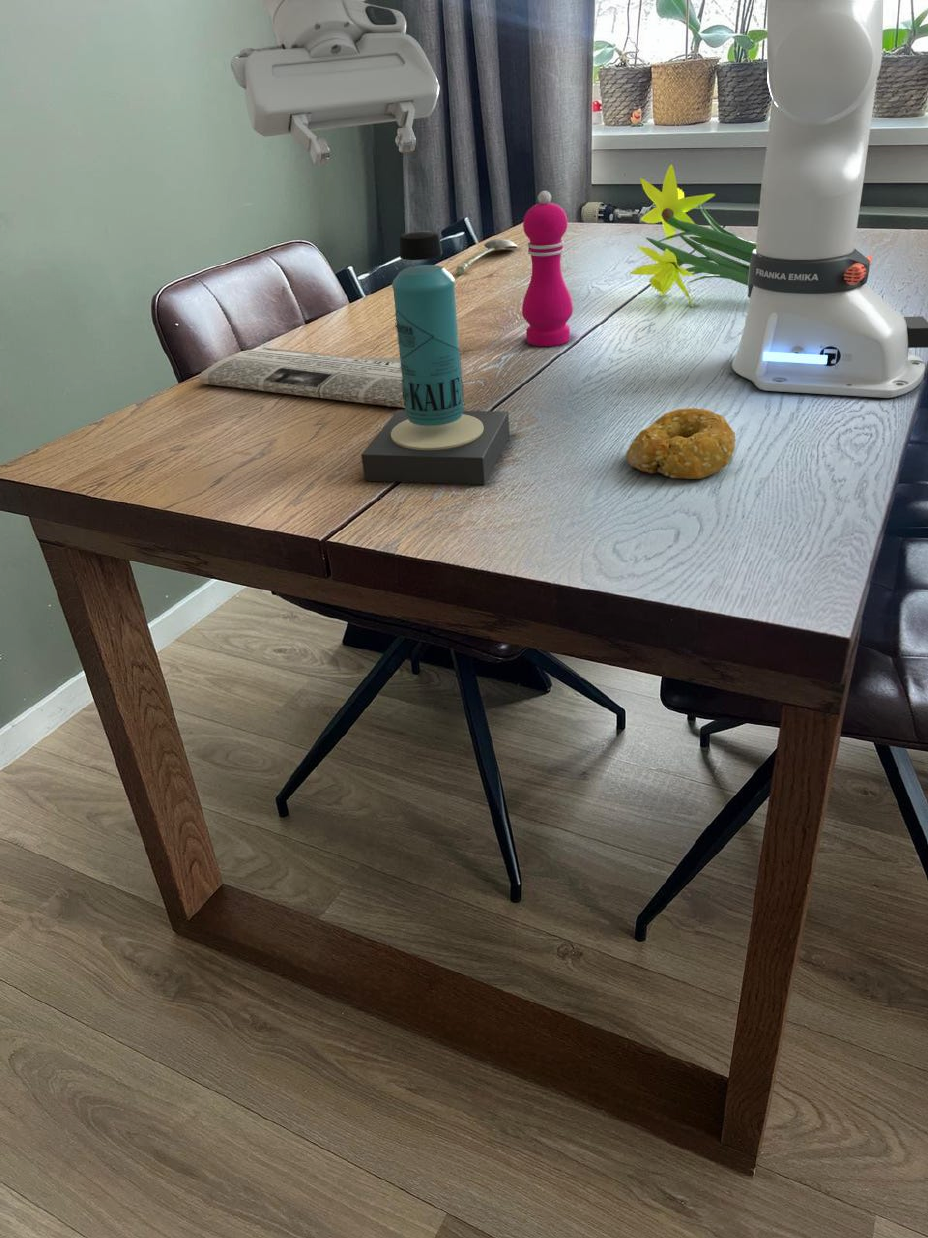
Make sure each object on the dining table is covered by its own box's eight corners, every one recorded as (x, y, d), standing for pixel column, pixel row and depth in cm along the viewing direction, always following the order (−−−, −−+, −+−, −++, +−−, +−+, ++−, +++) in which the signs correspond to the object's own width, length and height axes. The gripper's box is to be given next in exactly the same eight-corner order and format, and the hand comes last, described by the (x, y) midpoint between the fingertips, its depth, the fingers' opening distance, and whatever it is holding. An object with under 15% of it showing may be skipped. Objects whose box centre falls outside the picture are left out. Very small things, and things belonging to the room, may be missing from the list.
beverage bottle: (433, 413, 106) (415, 223, 95) (479, 424, 102) (466, 227, 91) (393, 433, 102) (370, 236, 91) (440, 445, 98) (421, 241, 87)
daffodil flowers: (810, 334, 133) (588, 255, 143) (809, 359, 147) (607, 285, 157) (866, 218, 130) (636, 145, 141) (860, 254, 144) (652, 186, 155)
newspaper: (201, 386, 131) (196, 361, 129) (258, 358, 140) (253, 334, 138) (421, 413, 116) (418, 385, 114) (468, 380, 125) (467, 354, 123)
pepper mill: (570, 347, 133) (568, 194, 123) (519, 348, 135) (513, 196, 124) (575, 332, 139) (574, 184, 129) (527, 333, 141) (521, 187, 130)
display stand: (509, 436, 107) (508, 408, 106) (484, 485, 97) (482, 455, 95) (400, 434, 110) (397, 406, 109) (364, 480, 100) (360, 451, 98)
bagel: (616, 450, 102) (617, 407, 99) (717, 440, 102) (721, 397, 99) (637, 488, 93) (638, 443, 91) (747, 478, 94) (751, 432, 91)
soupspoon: (523, 252, 190) (494, 253, 193) (522, 234, 189) (493, 235, 192) (475, 274, 174) (444, 275, 177) (473, 255, 172) (442, 255, 175)
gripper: (225, 25, 93) (270, 142, 91) (416, 9, 100) (462, 118, 98) (224, 76, 99) (266, 188, 97) (404, 58, 106) (448, 162, 103)
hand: (366, 153), depth 97 cm, fingers open, 8 cm apart
